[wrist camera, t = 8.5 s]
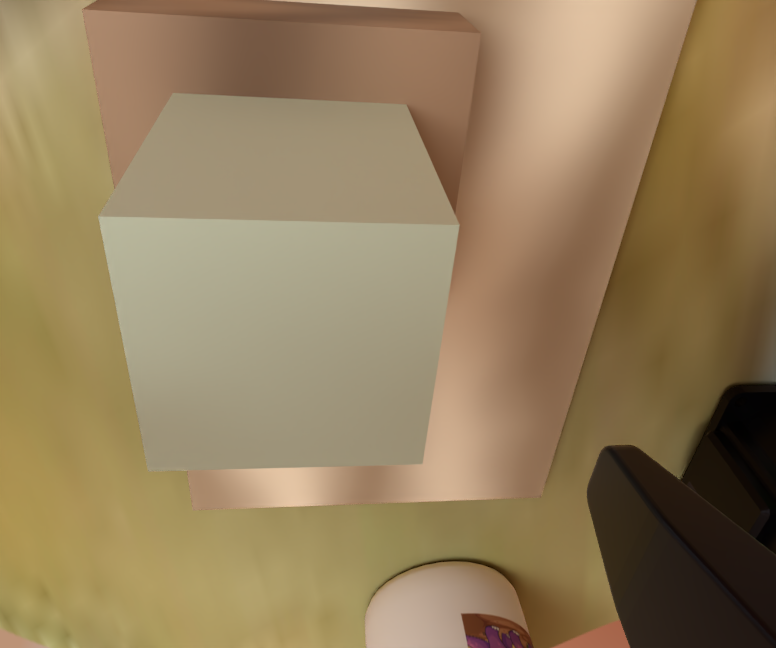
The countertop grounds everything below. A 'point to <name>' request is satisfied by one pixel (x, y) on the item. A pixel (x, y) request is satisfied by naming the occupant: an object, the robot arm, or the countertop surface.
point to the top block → (280, 283)
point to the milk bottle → (447, 610)
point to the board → (515, 247)
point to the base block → (282, 64)
